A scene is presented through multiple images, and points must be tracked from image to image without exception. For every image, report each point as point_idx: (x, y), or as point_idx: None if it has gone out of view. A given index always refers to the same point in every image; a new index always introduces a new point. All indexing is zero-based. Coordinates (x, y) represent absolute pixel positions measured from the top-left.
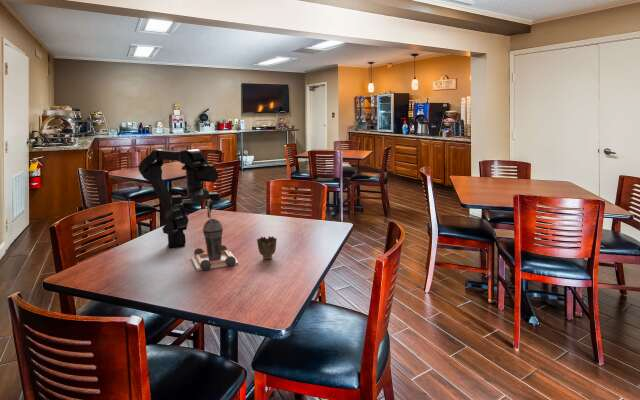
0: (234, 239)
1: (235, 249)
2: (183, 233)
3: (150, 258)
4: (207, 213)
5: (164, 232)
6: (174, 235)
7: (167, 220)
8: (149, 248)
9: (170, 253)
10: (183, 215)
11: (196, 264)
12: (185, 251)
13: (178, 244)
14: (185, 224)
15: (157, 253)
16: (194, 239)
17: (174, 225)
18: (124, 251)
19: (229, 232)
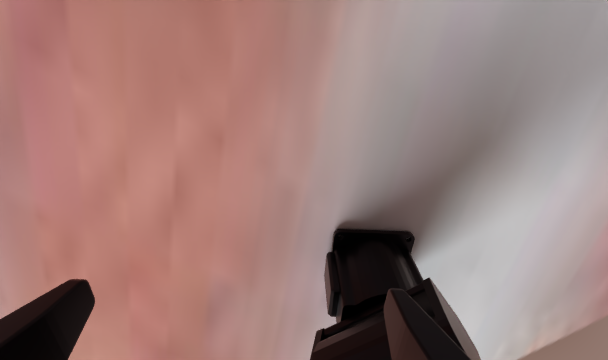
0: (70, 227)
1: (43, 24)
2: (340, 296)
3: (556, 116)
4: (56, 357)
5: (458, 319)
6: (399, 283)
7: None
8: (485, 272)
9: (434, 152)
10: (452, 350)
11: None
12: (353, 147)
13: (368, 242)
14: (334, 342)
15: (488, 184)
16: (271, 304)
17: (437, 324)
18: (587, 278)
19: (104, 330)
